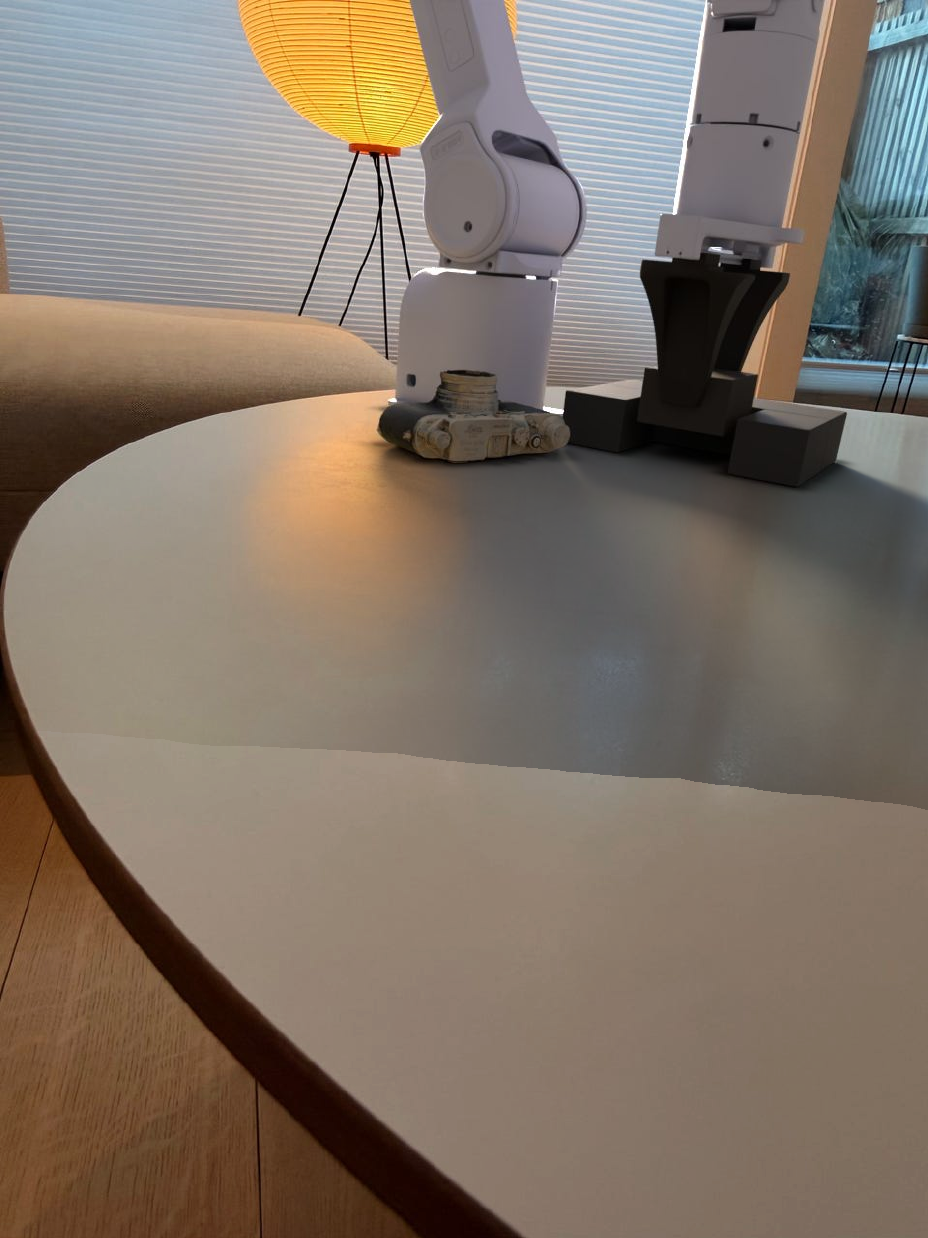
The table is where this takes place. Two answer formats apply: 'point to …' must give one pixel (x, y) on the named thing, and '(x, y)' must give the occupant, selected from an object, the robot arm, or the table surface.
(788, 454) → the base pad
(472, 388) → the camera
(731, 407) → the pad piece
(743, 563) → the table surface
